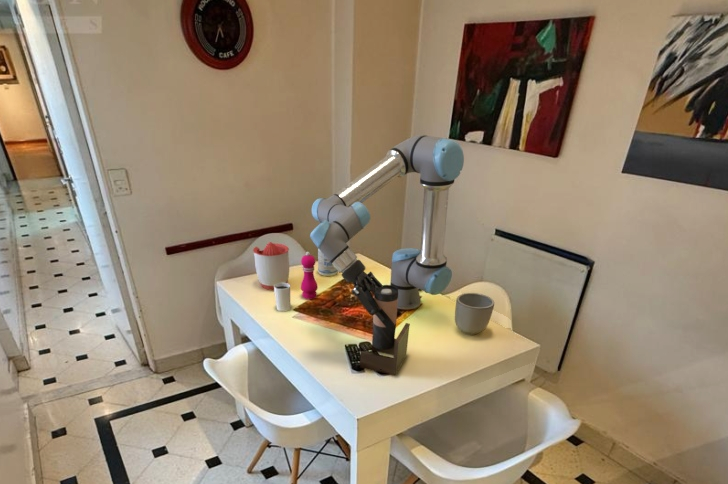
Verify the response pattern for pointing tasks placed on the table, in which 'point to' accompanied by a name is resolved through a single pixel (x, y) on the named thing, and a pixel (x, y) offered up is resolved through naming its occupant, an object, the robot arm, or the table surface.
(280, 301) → the white cup
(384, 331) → the travel mug
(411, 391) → the table surface
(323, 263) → the supplement tub
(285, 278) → the citrus juicer
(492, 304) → the planter
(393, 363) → the shelf rack
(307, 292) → the pepper mill
